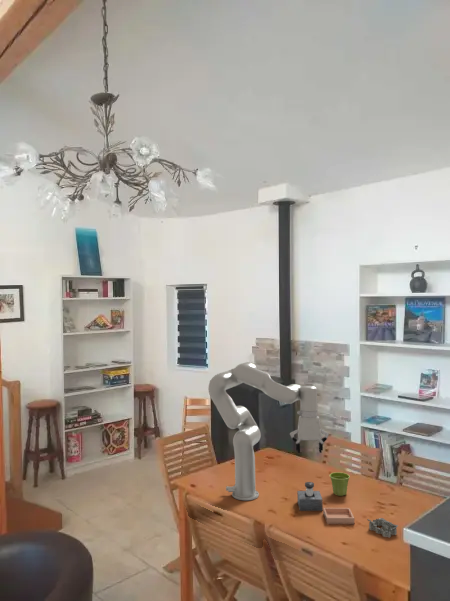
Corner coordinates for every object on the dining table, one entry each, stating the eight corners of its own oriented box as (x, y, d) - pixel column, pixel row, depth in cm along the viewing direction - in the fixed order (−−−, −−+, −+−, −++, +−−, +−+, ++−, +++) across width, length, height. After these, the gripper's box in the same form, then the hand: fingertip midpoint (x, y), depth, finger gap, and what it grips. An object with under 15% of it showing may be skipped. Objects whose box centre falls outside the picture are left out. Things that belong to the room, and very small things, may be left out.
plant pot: (350, 498, 231) (350, 479, 232) (329, 496, 233) (329, 478, 233) (349, 490, 241) (349, 472, 241) (329, 489, 242) (329, 471, 243)
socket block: (299, 510, 218) (299, 499, 218) (297, 501, 228) (297, 490, 228) (322, 510, 218) (322, 499, 218) (319, 501, 228) (319, 490, 228)
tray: (327, 524, 204) (326, 517, 205) (323, 513, 215) (323, 507, 215) (354, 524, 204) (354, 518, 204) (349, 513, 214) (349, 508, 214)
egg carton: (366, 528, 200) (365, 518, 200) (379, 524, 204) (379, 514, 204) (385, 539, 191) (385, 528, 191) (400, 534, 194) (399, 524, 194)
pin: (305, 508, 221) (305, 485, 221) (304, 504, 225) (304, 481, 225) (314, 508, 221) (314, 485, 221) (313, 504, 225) (313, 481, 225)
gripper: (290, 415, 220) (290, 454, 220) (329, 415, 219) (330, 454, 219) (288, 412, 228) (289, 449, 227) (327, 412, 227) (327, 449, 227)
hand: (309, 451), depth 223 cm, fingers open, 9 cm apart
